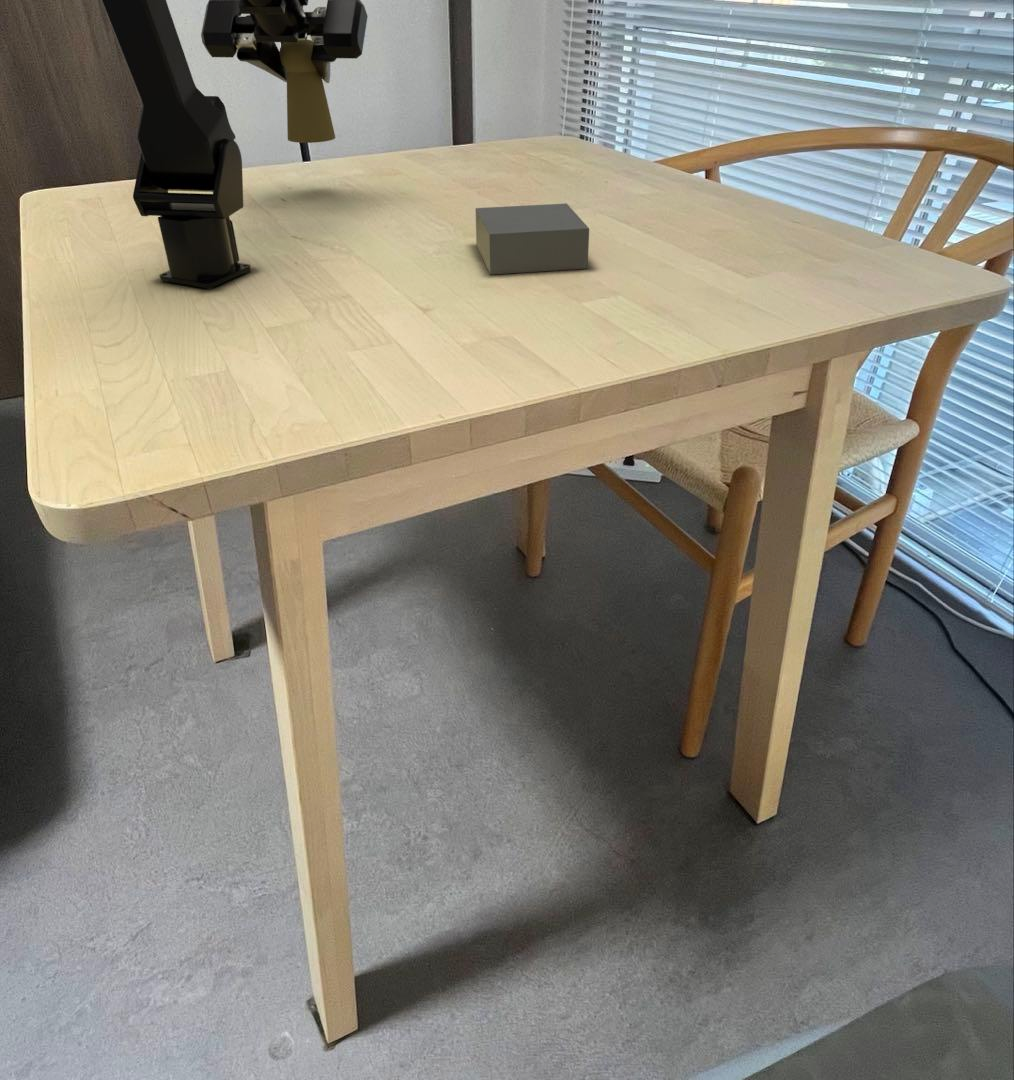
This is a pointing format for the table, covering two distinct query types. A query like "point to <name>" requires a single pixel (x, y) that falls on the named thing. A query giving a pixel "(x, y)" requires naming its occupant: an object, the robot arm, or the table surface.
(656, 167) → the table surface
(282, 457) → the table surface
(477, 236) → the grey block
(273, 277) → the table surface
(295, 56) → the olive brown pawn
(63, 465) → the table surface
